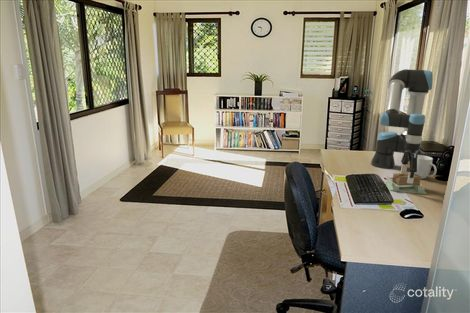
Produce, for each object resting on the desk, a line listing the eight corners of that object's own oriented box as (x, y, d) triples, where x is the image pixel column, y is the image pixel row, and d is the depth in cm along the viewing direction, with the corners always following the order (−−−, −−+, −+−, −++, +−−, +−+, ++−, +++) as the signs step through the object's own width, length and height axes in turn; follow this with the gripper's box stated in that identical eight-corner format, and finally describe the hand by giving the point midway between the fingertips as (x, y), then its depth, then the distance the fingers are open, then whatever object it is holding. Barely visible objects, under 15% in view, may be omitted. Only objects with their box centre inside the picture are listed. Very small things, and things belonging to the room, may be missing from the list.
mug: (438, 180, 217) (443, 159, 213) (429, 183, 211) (433, 162, 207) (415, 173, 228) (419, 154, 225) (405, 176, 223) (409, 156, 219)
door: (392, 181, 201) (393, 172, 199) (412, 181, 203) (414, 171, 202) (398, 185, 195) (400, 175, 194) (419, 184, 197) (421, 175, 196)
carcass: (384, 183, 208) (385, 174, 206) (418, 186, 205) (420, 178, 203) (389, 190, 195) (391, 182, 194) (426, 194, 192) (428, 185, 191)
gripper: (399, 137, 205) (393, 171, 211) (412, 147, 181) (405, 185, 187) (413, 138, 204) (406, 173, 210) (428, 148, 180) (420, 187, 186)
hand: (406, 179), depth 198 cm, fingers open, 13 cm apart
